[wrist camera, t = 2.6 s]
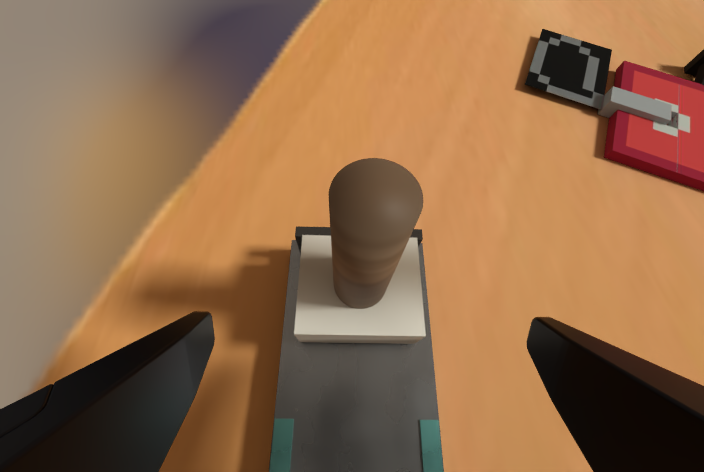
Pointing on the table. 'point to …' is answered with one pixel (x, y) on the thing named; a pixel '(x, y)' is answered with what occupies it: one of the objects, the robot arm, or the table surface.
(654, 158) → the red board with handle
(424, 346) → the rail
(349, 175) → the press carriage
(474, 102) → the table surface
